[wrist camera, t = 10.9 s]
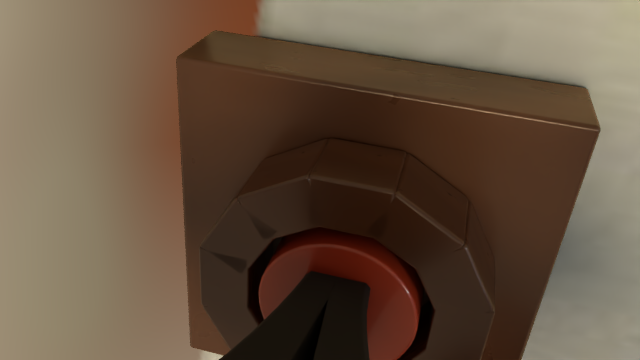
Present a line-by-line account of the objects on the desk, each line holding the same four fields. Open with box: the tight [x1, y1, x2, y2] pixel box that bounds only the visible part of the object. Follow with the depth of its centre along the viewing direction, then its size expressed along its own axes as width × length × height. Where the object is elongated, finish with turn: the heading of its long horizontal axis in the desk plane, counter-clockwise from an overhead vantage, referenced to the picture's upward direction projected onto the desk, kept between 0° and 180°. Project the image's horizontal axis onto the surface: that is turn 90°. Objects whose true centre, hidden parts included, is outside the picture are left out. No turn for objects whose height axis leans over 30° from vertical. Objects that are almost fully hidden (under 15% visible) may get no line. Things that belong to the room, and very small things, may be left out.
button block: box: [176, 31, 600, 360], centre depth 15 cm, size 9×9×4 cm
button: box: [259, 227, 424, 360], centre depth 14 cm, size 4×4×2 cm
